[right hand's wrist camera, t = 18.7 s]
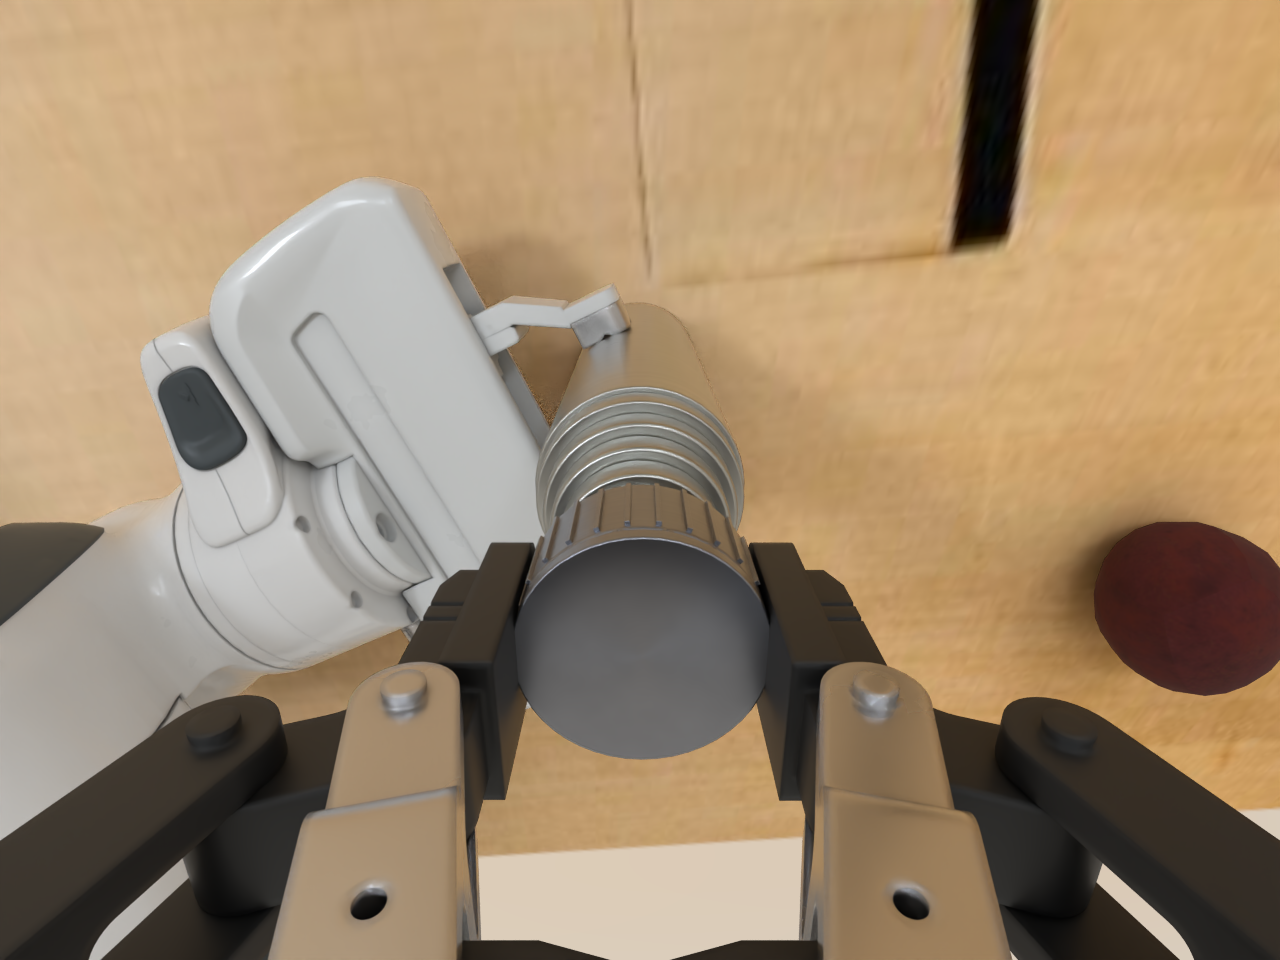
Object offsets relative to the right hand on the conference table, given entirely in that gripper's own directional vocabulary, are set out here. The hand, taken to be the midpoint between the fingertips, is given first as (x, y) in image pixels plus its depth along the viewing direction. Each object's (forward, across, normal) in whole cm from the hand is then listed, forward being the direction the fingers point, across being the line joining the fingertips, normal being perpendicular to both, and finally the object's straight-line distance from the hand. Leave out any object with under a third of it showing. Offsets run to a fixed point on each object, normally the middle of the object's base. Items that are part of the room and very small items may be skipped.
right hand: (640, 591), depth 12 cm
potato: (+20, -25, +10) cm, 34 cm away
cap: (-2, 0, 0) cm, 2 cm away
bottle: (+20, 0, 0) cm, 20 cm away
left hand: (+13, -1, 0) cm, 13 cm away
